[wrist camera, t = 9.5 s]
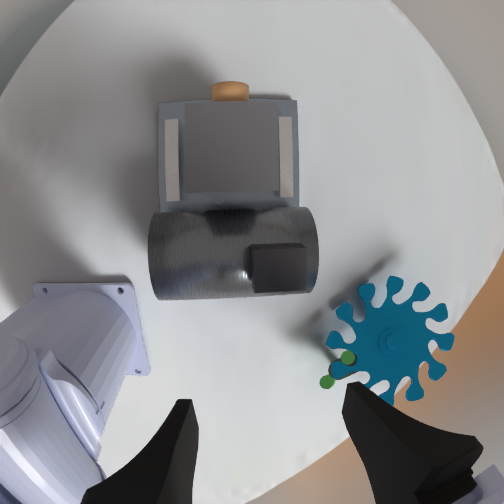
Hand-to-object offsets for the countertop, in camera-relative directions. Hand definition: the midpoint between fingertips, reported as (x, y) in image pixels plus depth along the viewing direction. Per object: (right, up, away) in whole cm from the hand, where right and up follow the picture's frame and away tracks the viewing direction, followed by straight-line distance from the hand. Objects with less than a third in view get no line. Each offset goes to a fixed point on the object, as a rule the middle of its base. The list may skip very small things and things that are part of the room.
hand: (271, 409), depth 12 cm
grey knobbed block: (-2, +13, +6) cm, 14 cm away
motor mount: (-2, +11, +7) cm, 13 cm away
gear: (+9, +1, +11) cm, 14 cm away
